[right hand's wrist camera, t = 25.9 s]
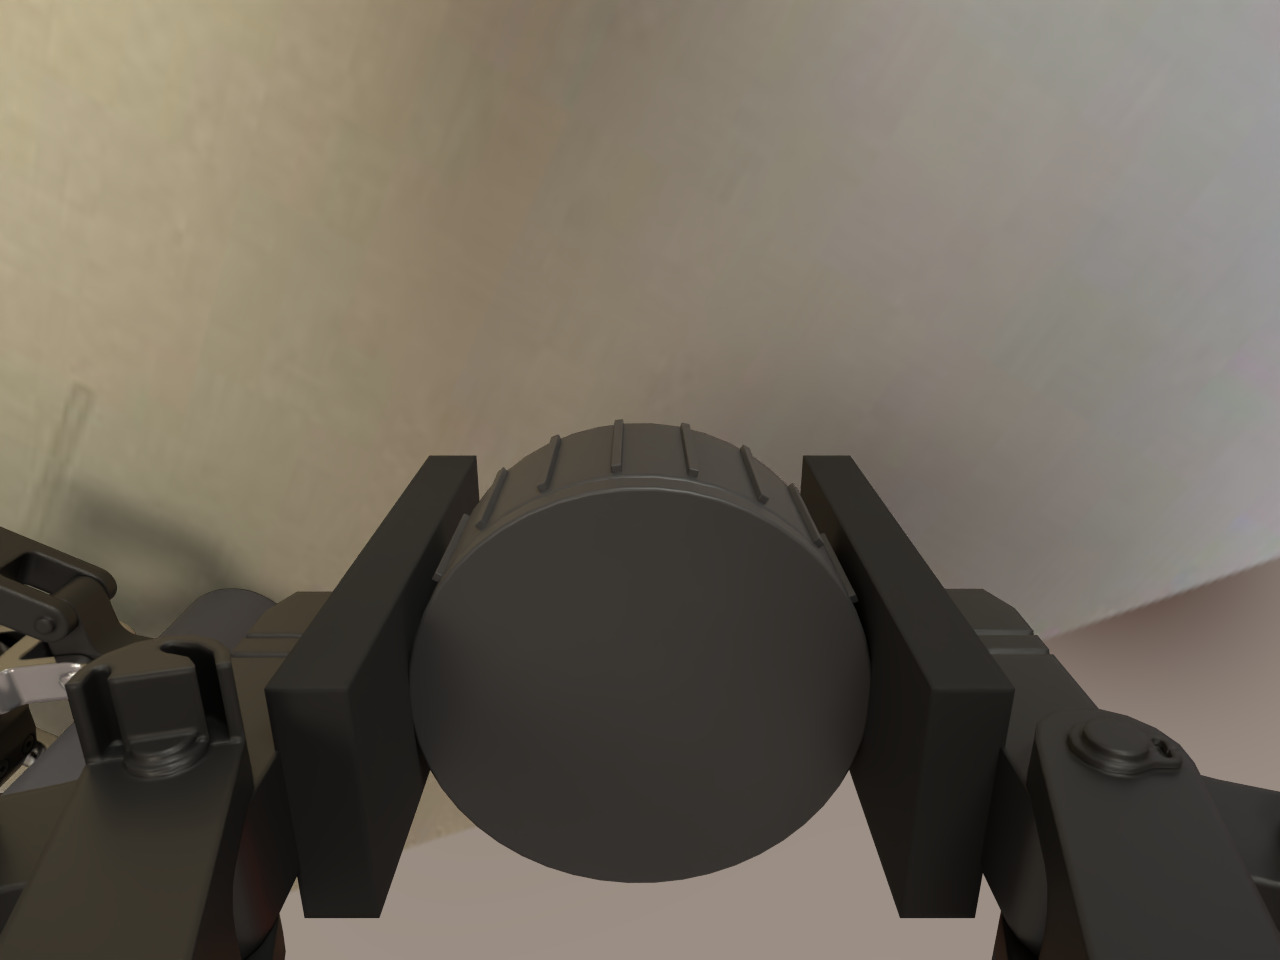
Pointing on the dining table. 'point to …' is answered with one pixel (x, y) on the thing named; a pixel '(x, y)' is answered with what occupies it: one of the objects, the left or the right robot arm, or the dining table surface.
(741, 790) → the lid
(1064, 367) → the dining table surface
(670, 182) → the dining table surface
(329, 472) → the dining table surface
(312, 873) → the right robot arm
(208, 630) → the dark grey cylinder
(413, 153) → the dining table surface
